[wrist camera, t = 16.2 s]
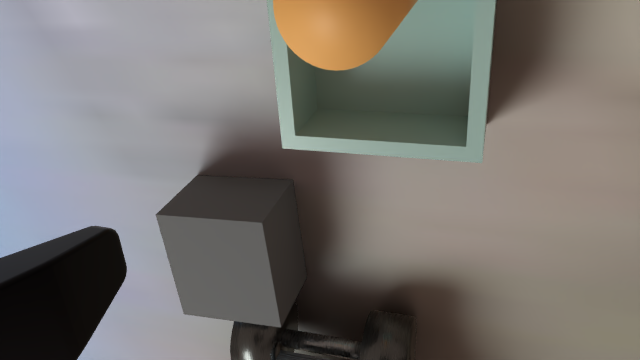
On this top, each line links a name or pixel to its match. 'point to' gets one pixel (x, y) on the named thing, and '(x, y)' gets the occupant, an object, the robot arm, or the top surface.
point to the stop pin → (338, 29)
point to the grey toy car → (326, 340)
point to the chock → (235, 248)
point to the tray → (396, 89)
